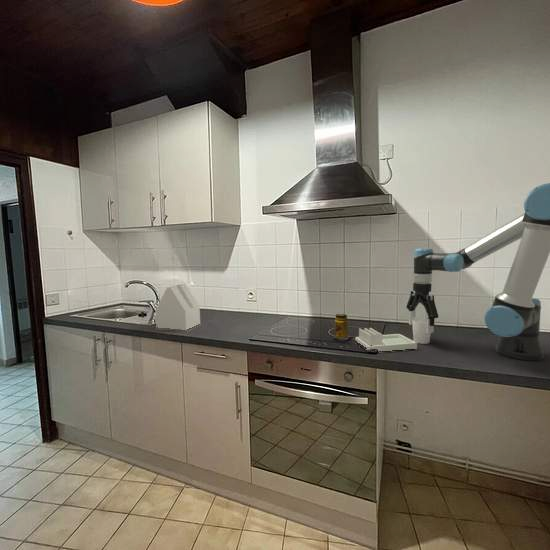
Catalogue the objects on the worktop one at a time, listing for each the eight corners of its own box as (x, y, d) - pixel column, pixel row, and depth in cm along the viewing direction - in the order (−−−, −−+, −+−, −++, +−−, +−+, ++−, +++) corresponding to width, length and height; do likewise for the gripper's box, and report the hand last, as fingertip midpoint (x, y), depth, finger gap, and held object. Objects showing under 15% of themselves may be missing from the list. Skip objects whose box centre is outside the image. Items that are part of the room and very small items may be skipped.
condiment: (331, 339, 149) (331, 315, 148) (340, 335, 156) (340, 311, 154) (345, 342, 144) (345, 317, 143) (353, 337, 151) (353, 313, 150)
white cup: (433, 344, 137) (433, 322, 136) (414, 344, 139) (414, 322, 138) (428, 339, 145) (428, 318, 144) (410, 338, 147) (410, 318, 146)
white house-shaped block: (156, 330, 176) (153, 287, 173) (172, 323, 191) (170, 283, 188) (186, 332, 171) (183, 287, 168) (200, 324, 185) (198, 283, 183)
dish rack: (417, 349, 132) (417, 332, 131) (368, 353, 129) (368, 336, 128) (399, 339, 146) (399, 324, 145) (355, 343, 143) (355, 327, 142)
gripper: (399, 279, 151) (398, 321, 153) (432, 287, 126) (430, 337, 129) (413, 279, 152) (412, 320, 154) (449, 286, 128) (446, 336, 130)
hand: (420, 328), depth 142 cm, fingers open, 13 cm apart
